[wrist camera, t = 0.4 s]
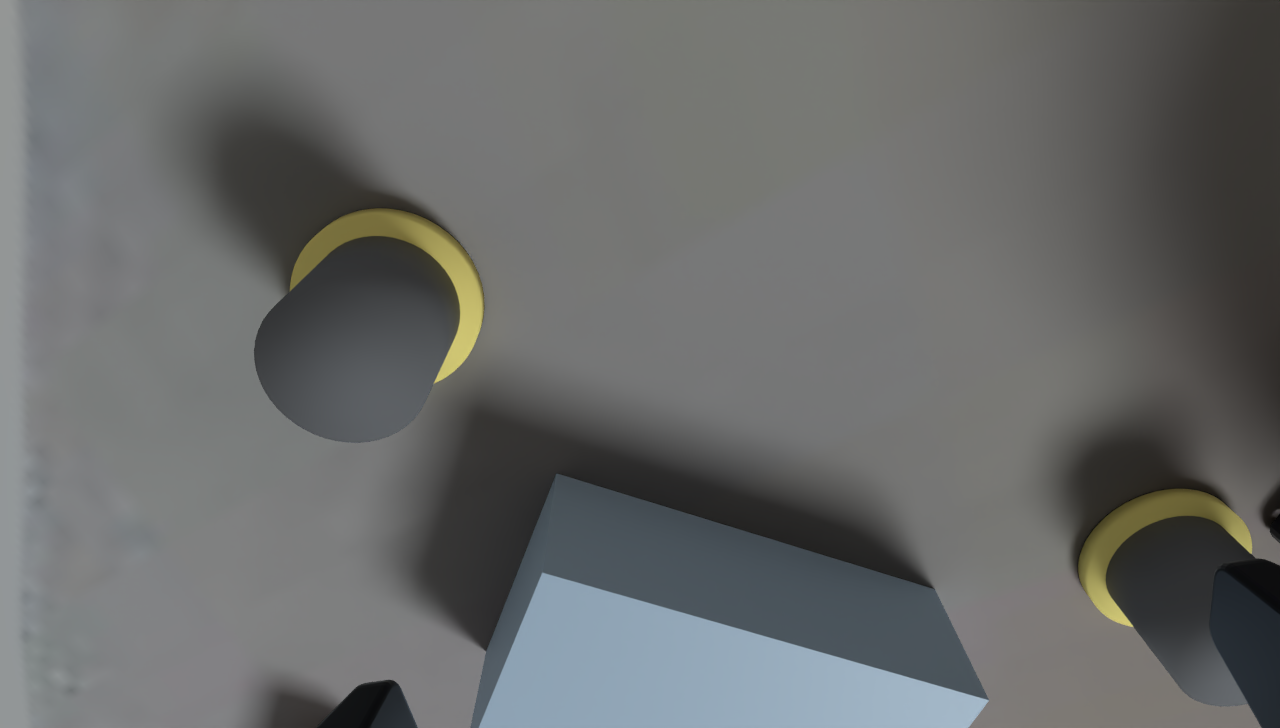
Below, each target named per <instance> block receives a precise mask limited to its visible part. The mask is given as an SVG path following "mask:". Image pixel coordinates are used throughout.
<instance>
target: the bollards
mask: <svg viewBox="0 0 1280 728" xmlns="http://www.w3.org/2000/svg"><path fill="white" fill-rule="evenodd" d="M484 307H485V306H484V293H483V287H482V283H481V280H480V277H479V274H478V272H477V270H476V267H475V265H474V263H473V261H472V260H471V258H470V257H469V255H468V254H467V252H466V251H465V250H464V249H463V247H462V246H461V245H460V244H459V243H458V242H457V241H456V240H455V239H454V238H453V237H452V236H451V235H450V234H449V233H448V232H446V231H445V230H444V229H442V228H441V227H439V226H438V225H436V224H434V223H433V222H431V221H429V220H427V219H425V218H423V217H420V216H418V215H416V214H413V213H409V212H406V211H402V210H395V209H386V208H374V209H364V210H360V211H356V212H352V213H350V214H347V215H344V216H342V217H340V218H338V219H336V220H335V221H333V222H331V223H330V224H329V225H327V226H326V227H325V228H324V229H322V230H321V231H320V232H319V233H318V234H317V235H315V236H314V237H313V238H312V239H311V240H310V241H309V243H308V244H307V245H306V246H305V247H304V249H303V250H302V252H301V253H300V255H299V257H298V259H297V261H296V263H295V266H294V269H293V272H292V276H291V283H290V292H289V293H288V294H287V295H286V296H285V297H284V298H283V299H282V300H281V301H279V302H278V303H277V304H276V305H275V306H274V307H273V308H272V310H271V311H270V312H269V313H268V314H267V316H266V317H265V318H264V320H263V321H262V324H261V326H260V328H259V330H258V333H257V337H256V340H255V348H254V358H255V365H256V371H257V374H258V377H259V380H260V382H261V385H262V387H263V389H264V391H265V392H266V394H267V395H268V397H269V399H270V400H271V401H272V402H273V404H274V405H275V406H276V407H277V409H278V410H280V411H281V412H282V413H283V414H284V415H285V416H286V417H287V418H288V419H290V420H291V421H292V422H293V423H295V424H296V425H298V426H300V427H301V428H303V429H305V430H307V431H309V432H311V433H313V434H315V435H318V436H321V437H323V438H326V439H330V440H335V441H341V442H351V443H360V442H370V441H375V440H380V439H382V438H385V437H388V436H390V435H393V434H395V433H397V432H398V431H400V430H401V429H403V428H404V427H406V426H407V425H408V424H409V423H410V422H411V421H412V420H414V418H415V417H416V416H417V415H418V413H419V412H420V410H421V409H422V407H423V405H424V403H425V401H426V399H427V397H428V395H429V393H430V391H431V388H432V386H433V384H434V383H436V382H438V381H440V380H442V379H444V378H446V377H447V376H448V375H450V374H451V373H453V372H454V371H455V370H456V369H457V368H458V367H459V366H460V365H461V364H462V363H463V362H464V360H465V359H466V358H467V357H468V355H469V353H470V352H471V350H472V348H473V346H474V344H475V341H476V339H477V336H478V334H479V332H480V329H481V326H482V322H483V317H484ZM1251 553H1252V540H1251V536H1250V532H1249V530H1248V528H1247V526H1246V524H1245V523H1244V522H1243V520H1242V519H1241V518H1240V517H1239V516H1238V515H1236V514H1235V513H1234V512H1233V511H1232V510H1231V509H1230V508H1229V507H1228V506H1227V505H1225V504H1224V503H1223V502H1222V501H1221V500H1219V499H1218V498H1216V497H1215V496H1212V495H1210V494H1208V493H1205V492H1201V491H1198V490H1191V489H1167V490H1161V491H1156V492H1152V493H1149V494H1145V495H1142V496H1140V497H1137V498H1135V499H1133V500H1131V501H1129V502H1127V503H1125V504H1123V505H1121V506H1120V507H1118V508H1117V509H1115V510H1114V511H1112V512H1111V513H1110V514H1109V515H1107V516H1106V517H1105V518H1104V519H1103V520H1102V521H1101V522H1100V523H1099V524H1098V525H1097V526H1096V527H1095V528H1094V530H1093V531H1092V532H1091V533H1090V535H1089V537H1088V538H1087V540H1086V541H1085V544H1084V546H1083V548H1082V550H1081V554H1080V557H1079V563H1078V573H1079V579H1080V582H1081V584H1082V587H1083V589H1084V590H1085V592H1086V593H1087V595H1088V596H1089V597H1090V599H1091V600H1092V602H1093V603H1094V604H1095V606H1096V607H1097V608H1098V609H1099V610H1100V611H1101V612H1102V613H1103V614H1104V615H1105V616H1107V617H1108V618H1110V619H1112V620H1113V621H1115V622H1118V623H1120V624H1123V625H1127V626H1131V627H1134V628H1135V629H1136V631H1137V632H1138V633H1139V635H1140V636H1141V637H1142V638H1143V640H1144V641H1145V642H1146V644H1147V645H1148V646H1149V648H1150V649H1151V650H1152V652H1153V653H1154V654H1155V656H1156V657H1157V658H1158V659H1159V661H1160V662H1161V663H1162V665H1163V666H1164V667H1165V669H1166V670H1167V671H1168V673H1169V674H1170V675H1171V677H1172V678H1173V679H1174V680H1175V682H1176V683H1177V684H1178V686H1179V687H1180V688H1181V689H1182V691H1183V692H1184V693H1185V694H1187V695H1188V696H1189V697H1191V698H1192V699H1194V700H1196V701H1199V702H1201V703H1204V704H1208V705H1214V706H1238V705H1244V704H1248V703H1247V701H1246V699H1245V698H1244V696H1243V694H1242V692H1241V691H1240V689H1239V687H1238V685H1237V684H1236V682H1235V680H1234V678H1233V677H1232V675H1231V673H1230V671H1229V670H1228V668H1227V666H1226V664H1225V663H1224V661H1223V659H1222V657H1221V656H1220V654H1219V652H1218V650H1217V649H1216V647H1215V645H1214V642H1213V640H1212V637H1211V634H1210V628H1209V616H1210V607H1211V598H1212V589H1213V580H1214V574H1215V570H1216V569H1217V567H1218V566H1219V565H1221V564H1223V563H1226V562H1233V561H1240V560H1247V559H1256V558H1255V557H1254V556H1253V555H1252V554H1251Z"/></svg>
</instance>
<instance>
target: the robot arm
mask: <svg viewBox="0 0 1280 728" xmlns="http://www.w3.org/2000/svg"><path fill="white" fill-rule="evenodd" d="M1270 533H1271V535H1272V537H1274V538H1275V539H1276V540H1277V541H1278V542H1279V543H1280V514H1279V516H1278V517H1277V518H1276V519H1275V520H1274V522H1273V523H1272V525H1271V527H1270ZM1209 628H1210V634H1211V637H1212V640H1213V642H1214V645H1215V647H1216V649H1217V650H1218V652H1219V654H1220V656H1221V657H1222V659H1223V661H1224V663H1225V664H1226V666H1227V668H1228V670H1229V671H1230V673H1231V675H1232V677H1233V678H1234V680H1235V682H1236V684H1237V685H1238V687H1239V689H1240V691H1241V692H1242V694H1243V696H1244V698H1245V699H1246V701H1247V703H1248V705H1249V706H1250V708H1251V710H1252V712H1253V713H1254V715H1255V717H1256V719H1257V720H1258V722H1259V724H1260V726H1261V727H1262V728H1280V566H1279V565H1277V564H1275V563H1273V562H1270V561H1267V560H1265V559H1247V560H1240V561H1233V562H1226V563H1223V564H1221V565H1219V566H1218V567H1217V569H1216V570H1215V574H1214V580H1213V589H1212V598H1211V607H1210V616H1209ZM316 728H418V727H417V725H416V722H415V720H414V718H413V715H412V713H411V711H410V708H409V706H408V704H407V701H406V699H405V697H404V694H403V692H402V690H401V688H400V686H399V685H398V684H397V683H396V682H395V681H393V680H384V681H376V682H369V683H364V684H361V685H359V686H357V687H356V688H355V689H354V690H353V691H352V692H351V693H350V694H349V695H348V696H347V697H346V698H345V699H344V700H343V701H342V702H341V703H340V704H339V705H338V706H337V707H336V708H335V709H334V710H333V711H332V712H331V713H330V714H329V715H328V716H327V717H326V718H325V719H324V720H323V721H322V722H321V723H320V724H319V725H318V726H317V727H316Z"/></svg>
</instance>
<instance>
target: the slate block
mask: <svg viewBox="0 0 1280 728" xmlns="http://www.w3.org/2000/svg"><path fill="white" fill-rule="evenodd" d="M988 701H989V699H988V697H987V695H986V693H985V691H984V689H983V687H982V685H981V683H980V681H979V679H978V677H977V675H976V673H975V671H974V669H973V667H972V664H971V662H970V660H969V658H968V656H967V654H966V652H965V650H964V648H963V646H962V644H961V642H960V640H959V638H958V636H957V634H956V632H955V630H954V628H953V626H952V624H951V621H950V619H949V617H948V615H947V613H946V611H945V609H944V607H943V605H942V603H941V601H940V599H939V597H938V595H937V593H936V591H935V589H932V588H929V587H926V586H922V585H919V584H916V583H913V582H909V581H906V580H903V579H900V578H896V577H893V576H890V575H887V574H883V573H880V572H877V571H874V570H870V569H867V568H864V567H861V566H857V565H854V564H851V563H847V562H844V561H841V560H838V559H834V558H831V557H828V556H825V555H821V554H818V553H815V552H812V551H808V550H805V549H802V548H799V547H795V546H792V545H789V544H785V543H782V542H779V541H776V540H772V539H769V538H766V537H763V536H759V535H756V534H753V533H750V532H746V531H743V530H740V529H737V528H733V527H730V526H727V525H723V524H720V523H717V522H714V521H710V520H707V519H704V518H701V517H697V516H694V515H691V514H688V513H684V512H681V511H678V510H675V509H671V508H668V507H665V506H661V505H658V504H655V503H652V502H648V501H645V500H642V499H639V498H635V497H632V496H629V495H626V494H622V493H619V492H616V491H613V490H609V489H606V488H603V487H599V486H596V485H593V484H590V483H586V482H583V481H580V480H577V479H573V478H570V477H567V476H564V475H560V474H557V473H556V476H555V478H554V481H553V483H552V486H551V488H550V491H549V493H548V496H547V499H546V501H545V504H544V506H543V509H542V511H541V514H540V516H539V519H538V521H537V524H536V527H535V529H534V532H533V534H532V537H531V539H530V542H529V544H528V547H527V549H526V552H525V554H524V557H523V560H522V562H521V565H520V567H519V570H518V572H517V575H516V577H515V580H514V582H513V585H512V587H511V590H510V593H509V595H508V598H507V600H506V603H505V605H504V608H503V610H502V613H501V615H500V618H499V620H498V623H497V626H496V628H495V631H494V633H493V636H492V638H491V641H490V643H489V646H488V648H487V651H486V655H485V660H484V665H483V670H482V675H481V679H480V684H479V689H478V694H477V699H476V703H475V708H474V713H473V718H472V723H471V728H968V727H969V726H970V725H971V723H972V722H973V721H974V719H975V718H976V717H977V715H978V714H979V713H980V712H981V710H982V709H983V708H984V706H985V705H986V704H987V702H988Z"/></svg>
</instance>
